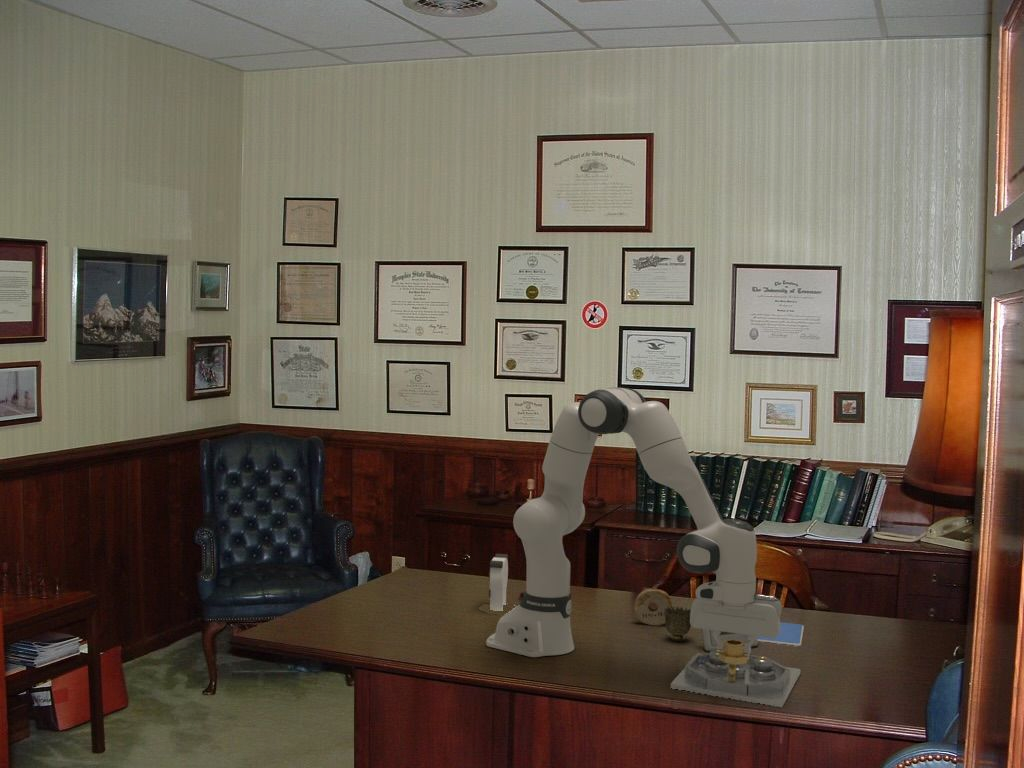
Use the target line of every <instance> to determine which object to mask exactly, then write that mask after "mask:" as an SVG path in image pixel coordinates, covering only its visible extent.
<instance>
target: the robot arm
mask: <svg viewBox="0 0 1024 768" xmlns="http://www.w3.org/2000/svg"><path fill="white" fill-rule="evenodd" d="M560 412H561V413H560V414H559V416H558V418H557V420H556V422H555V425H554V426H553V430H552V432H551V433H552V434H551V436H550V439H549V442H548V444H547V445H548V446H547V449H546V453H545V455H544V458H543V459H544V460H543V463H542V466H541V467H542V468H541V470H542V473H543V474H544V488H543V493H542V495H541V496H540V497H536V498H533V499H532V498H531V499H529V500H528V501H526V502H525V503H524V504H522V505H521V506H520V507H519V508H518V509H517V510H516V511H515V513H514V515H513V521H512V525H513V529H514V531H515V534H516V535H517V537H518V538H519V539H520V540H521V543H522V546H523V550H524V554H525V559H526V561H525V562H526V588H524V589H523V591H522V592H520V593H519V594H518V595H517V596H516V597H517V598H516V601H519V604H518V605H515V606H516V607H515V608H513V609H512V610H511V611H509V612H508V613H506V614H504V615H502V616H501V617H500V618H499V620H498V621H497V624H496V629H495V632H494V633H492V634H491V635H490V636H488V638H487V639H486V642H485V645H486V646H487V647H489V648H494V649H497V650H501V651H505V652H509V653H514V654H517V655H521V656H522V655H523V656H526V657H530V658H539V657H545V656H560V655H561V656H562V655H565V654H568V653H571V652H573V651H574V650H575V644H574V640H573V636H572V635H573V634H572V628H571V627H572V626H571V614H572V593H571V591H570V589H571V562H570V560H569V559H568V558H567V556H566V554H565V553H566V552H565V550H564V544H563V537H564V536H566V535H568V534H571V533H572V532H574V531H575V530H577V529H578V527H579V526H581V525H582V523H583V521H584V519H585V516H586V508H585V504H584V503H583V497H584V485H585V479H586V476H587V471H588V469H589V465H590V462H591V460H592V455H593V452H594V448H595V445H596V443H597V439H598V437H599V435H608V434H609V435H611V434H612V435H613V434H620V433H624V434H627V435H628V436H629V437H630V438H631V439H632V441H633V443H634V445H635V447H636V448H635V449H636V451H637V454H638V456H639V459H640V462H641V464H642V466H643V469H644V470H645V472H646V473H647V475H648V477H649V478H650V479H651V480H653V481H654V482H656V483H658V484H660V485H663V486H666V487H668V488H669V489H672V490H674V491H675V492H677V494H679V495H680V496H681V497H682V499H683V500H684V503H685V505H686V506H687V508H688V510H689V513H690V514H691V517H692V519H693V520H694V521H693V522H694V523H695V525H696V529H697V530H694V531H691V532H688V533H687V534H685V535H683V536H682V537H681V538H680V539H679V540H678V543H677V546H676V557H677V559H678V562H679V564H680V565H681V567H682V568H683V569H685V571H688V572H690V573H694V574H704V573H706V574H707V573H714V574H715V577H716V579H715V580H714V581H709V582H705V583H702V584H700V585H699V586H698V587H697V588H696V590H695V592H694V593H695V599H694V600H692V603H691V608H690V609H691V612H690V624H691V627H692V628H693V629H694V628H695V629H700V630H701V629H707V630H713V636H714V638H715V640H716V642H717V650H722V651H723V650H724V641H722V640H721V638H720V636H719V634H720V633H721V631H722V632H729V633H737V634H744V635H748V639H749V640H751V641H750V642H749V644H748V645H747V644H744V646H743V654H749V655H751V652H752V647H751V645H752V644H753V642H754V641H755V639H756V636H759V637H766V638H776V637H777V636H778V635H779V634H780V631H781V626H780V622H781V617H780V616H781V615H782V611H783V603H782V602H781V600H780V599H779V598H777V597H776V596H774V595H765V594H759V593H757V592H756V591H757V589H756V588H757V577H756V574H755V567H756V564H757V557H758V556H757V555H758V553H757V551H758V547H757V536H756V535H757V534H756V531H755V528H754V527H753V526H752V525H751V524H750V523H748V522H746V521H743V520H741V519H735V518H733V519H732V518H725V519H724V518H723V516H722V514H721V512H720V511H719V509H718V507H717V504H716V502H715V501H714V498H713V496H712V494H711V492H710V490H709V488H708V486H707V485H706V482H705V481H704V479H703V477H702V475H701V473H700V471H699V469H698V468H697V466H696V464H695V463H694V461H693V459H692V457H691V455H690V453H689V450H688V448H687V446H686V443H685V441H684V439H683V437H682V434H681V432H680V429H679V426H678V425H677V423H676V421H675V419H674V418H673V416H672V413H670V411H669V409H668V408H667V406H666V405H665V404H664V403H663V402H660V401H658V400H657V401H656V400H650V401H647V400H646V398H645V396H644V395H642V394H641V393H640V392H639V391H637V390H635V389H633V388H629V387H608V388H604V389H595V390H593V391H590V392H589V393H587V394H586V395H584V396H583V397H582V399H581V401H575V402H570V403H567V404H566V405H565V406H564V407H563V408H562V410H561V411H560Z"/></svg>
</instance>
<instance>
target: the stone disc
mask: <svg viewBox="0 0 1024 768" xmlns="http://www.w3.org/2000/svg"><path fill="white" fill-rule="evenodd" d="M672 603H673V602H672V600H671V597H670V595H669V594H668V593H667V592H666V591H664V590H662V589H659V588H646V589H643V590H642V591H640V593H639V594H638V595H637V597H636V598H635V603H634V608H633V609H634V614H635V616H636V618H637V619H638V621H640V622H641V623H642V624H645V625H649V626H652V625H653V626H663V625H664V624H665V608H666V609H667V607H670V608H671V609H672V607H673V604H672ZM650 604H656V605H657V608H655V609H653V608H652V607H650Z"/></svg>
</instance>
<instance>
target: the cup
mask: <svg viewBox="0 0 1024 768" xmlns="http://www.w3.org/2000/svg"><path fill="white" fill-rule="evenodd" d="M690 612H691V608H687V607H685V608H683V607H682V606H677V607H676V608H675V607H674V606H672V609H671V608H670V607H667V609H666V608H665V623H664V624H665V628H666V631H667V632H668V633H669V634H670V639H671V640H672V641H674V642H683V641H685V637H686V636H685V635H687V634H688V633H689V632H690V629H691V627H692V626H691V624H690Z"/></svg>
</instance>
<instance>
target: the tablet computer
mask: <svg viewBox="0 0 1024 768" xmlns="http://www.w3.org/2000/svg"><path fill="white" fill-rule="evenodd" d="M780 626H781V631H780V634H779V635H778V636H777V637H776V638H766V637H759V636H757V640H758V641H760V642H759V643H763V642H770V643H769V644H771V643H777V644H776V645H780V644H787V645H786V646H789V645H794V646H793V647H797V646H800V647H801V646H802V643H803V636H804V630H805V625H803V624H799V623H790V622H781V621H780Z"/></svg>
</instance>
